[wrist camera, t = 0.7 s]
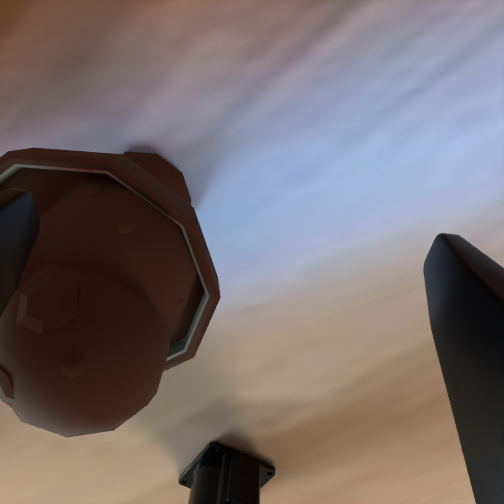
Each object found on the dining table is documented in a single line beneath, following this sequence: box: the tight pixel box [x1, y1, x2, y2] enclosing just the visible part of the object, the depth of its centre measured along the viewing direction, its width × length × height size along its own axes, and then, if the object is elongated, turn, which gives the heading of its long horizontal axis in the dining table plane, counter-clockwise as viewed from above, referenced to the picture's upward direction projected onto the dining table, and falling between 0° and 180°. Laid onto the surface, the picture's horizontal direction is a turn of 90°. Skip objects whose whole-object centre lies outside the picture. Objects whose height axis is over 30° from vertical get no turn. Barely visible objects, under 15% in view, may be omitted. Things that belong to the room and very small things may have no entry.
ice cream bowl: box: [0, 148, 220, 437], centre depth 19 cm, size 11×11×15 cm
